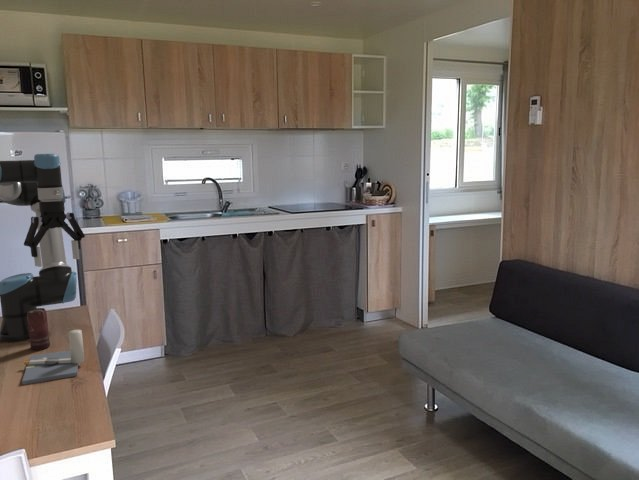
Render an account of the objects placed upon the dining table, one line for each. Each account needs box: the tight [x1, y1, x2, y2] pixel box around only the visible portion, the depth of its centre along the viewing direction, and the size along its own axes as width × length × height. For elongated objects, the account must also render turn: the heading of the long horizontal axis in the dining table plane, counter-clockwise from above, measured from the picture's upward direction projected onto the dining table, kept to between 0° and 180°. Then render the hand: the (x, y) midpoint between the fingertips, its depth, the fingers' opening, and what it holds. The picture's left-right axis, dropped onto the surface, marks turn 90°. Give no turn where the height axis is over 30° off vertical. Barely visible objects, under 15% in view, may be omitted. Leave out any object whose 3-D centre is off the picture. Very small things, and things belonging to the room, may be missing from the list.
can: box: [27, 307, 51, 351], centre depth 188 cm, size 6×6×14 cm
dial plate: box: [21, 349, 79, 386], centre depth 171 cm, size 22×15×1 cm
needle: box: [23, 329, 86, 365], centre depth 171 cm, size 19×4×10 cm, turn 94°
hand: (58, 262), depth 180 cm, fingers open, 13 cm apart
